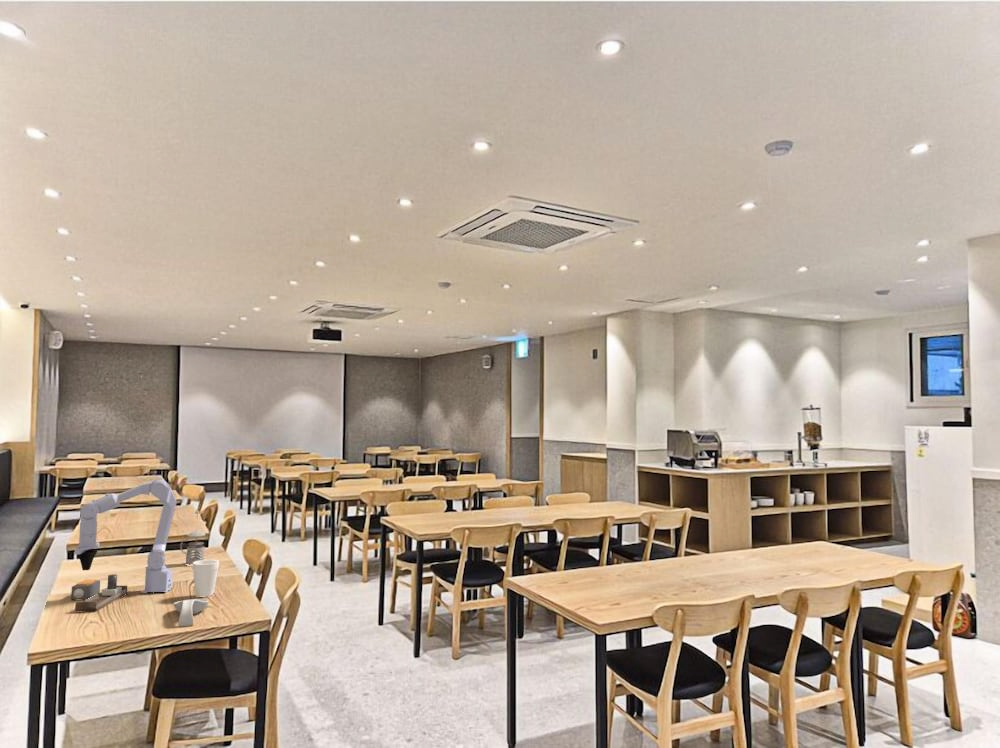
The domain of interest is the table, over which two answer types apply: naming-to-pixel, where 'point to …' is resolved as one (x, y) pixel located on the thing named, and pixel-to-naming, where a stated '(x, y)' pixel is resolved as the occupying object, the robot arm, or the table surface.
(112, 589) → the carriage
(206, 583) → the foam cup
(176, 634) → the table surface
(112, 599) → the rail
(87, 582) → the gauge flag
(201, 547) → the french press
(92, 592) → the box
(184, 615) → the spoon rest
